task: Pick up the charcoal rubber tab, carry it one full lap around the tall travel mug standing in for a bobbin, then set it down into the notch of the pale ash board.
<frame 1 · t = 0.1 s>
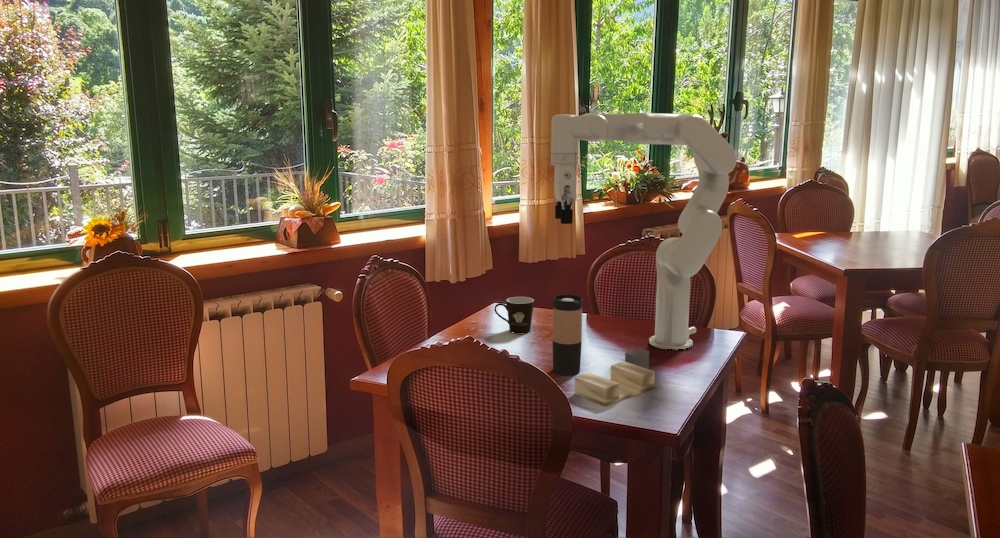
hand: (563, 221, 213), 37 cm above the table, tool pointing down, fingers open, 9 cm apart
tab: (636, 373, 199), on the table
notched board: (614, 391, 187), on the table
travel mug: (566, 371, 201), on the table
coffee mug: (515, 330, 238), on the table
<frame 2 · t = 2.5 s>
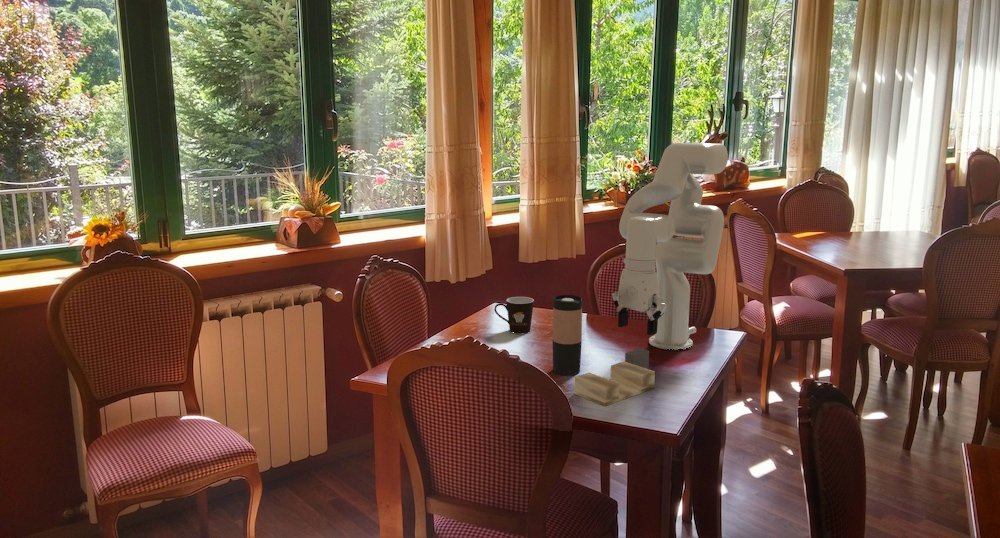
hand: (637, 330, 196), 12 cm above the table, tool pointing down, fingers open, 9 cm apart
nothing on the table moved.
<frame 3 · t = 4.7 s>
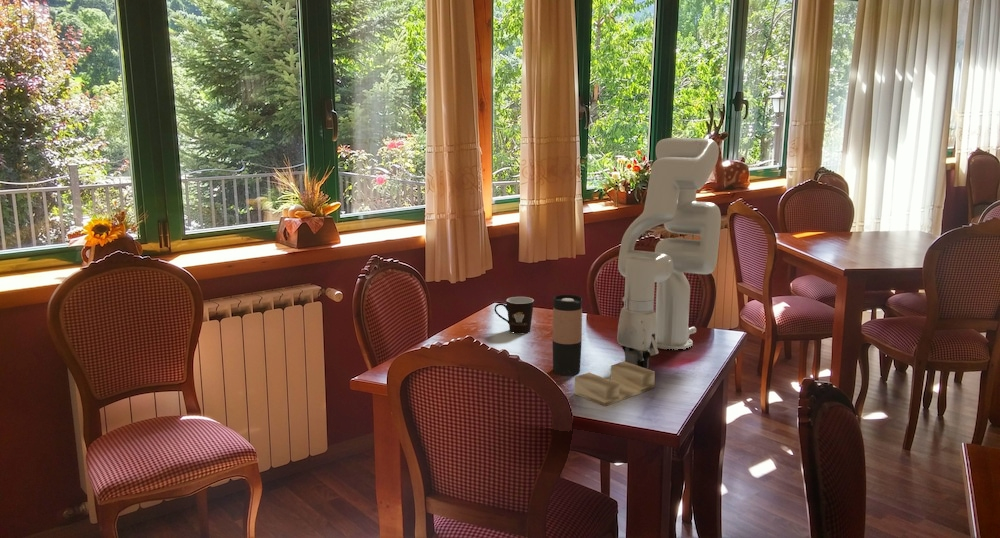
hand: (636, 371, 199), 0 cm above the table, tool pointing down, fingers closed on tab, 2 cm apart
tab: (636, 373, 199), on the table, touching gripper
everything else where it was.
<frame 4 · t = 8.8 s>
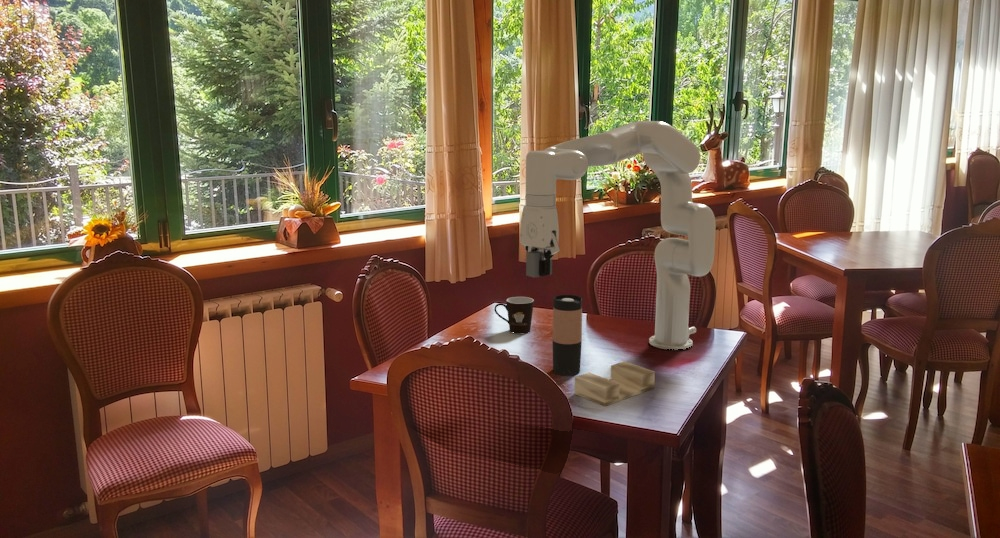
hand: (539, 273, 190), 28 cm above the table, tool pointing down, fingers closed on tab, 3 cm apart
tab: (539, 274, 190), point 27 cm above the table, touching gripper
everything else where it was.
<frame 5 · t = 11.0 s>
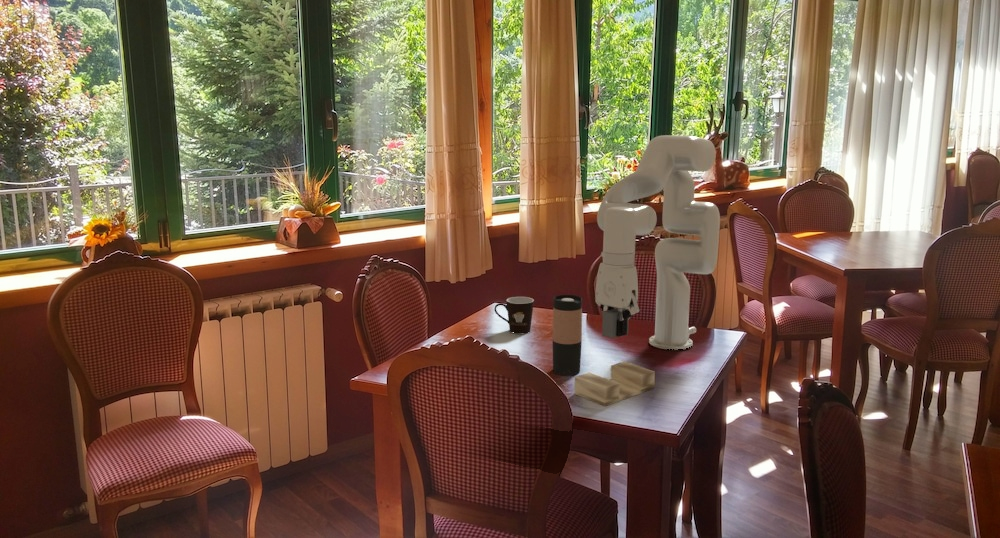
hand: (615, 333, 183), 15 cm above the table, tool pointing down, fingers closed on tab, 3 cm apart
tab: (615, 334, 183), point 15 cm above the table, touching gripper
everything else where it was.
when the fingers open (2 cm above the table, at t = 13.1 s): tab stays where it is, resting on notched board.
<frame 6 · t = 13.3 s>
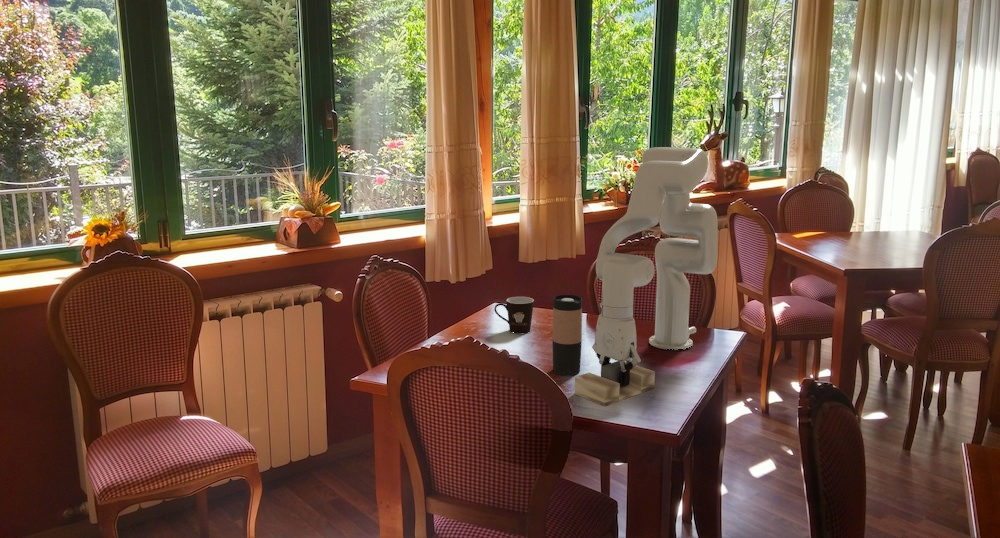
hand: (615, 381, 186), 2 cm above the table, tool pointing down, fingers open, 5 cm apart
tab: (614, 388, 186), point 1 cm above the table, touching notched board
everything else where it was.
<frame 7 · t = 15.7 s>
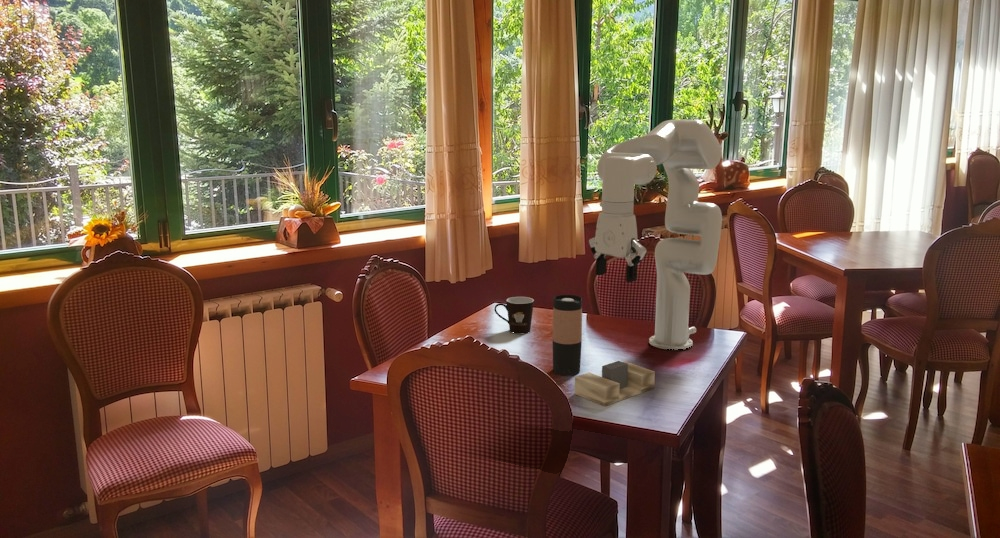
hand: (615, 277, 185), 28 cm above the table, tool pointing down, fingers open, 9 cm apart
nothing on the table moved.
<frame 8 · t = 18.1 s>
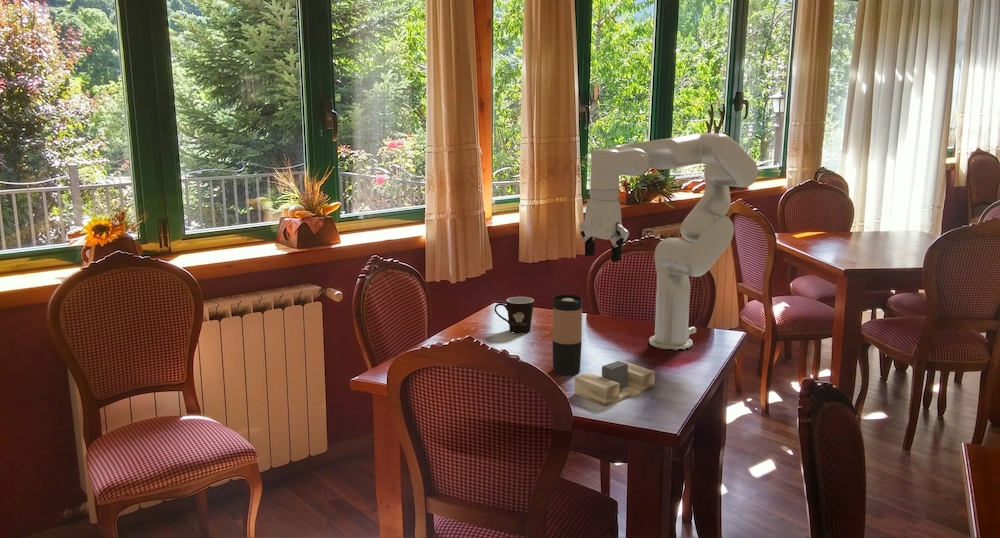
hand: (602, 258, 206), 28 cm above the table, tool pointing down, fingers open, 9 cm apart
nothing on the table moved.
at the end: tab 0.1 cm off-centre on the notched board, point 0.8 cm above the notched board's base; tab tilted 0°; the gripper is holding nothing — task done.
